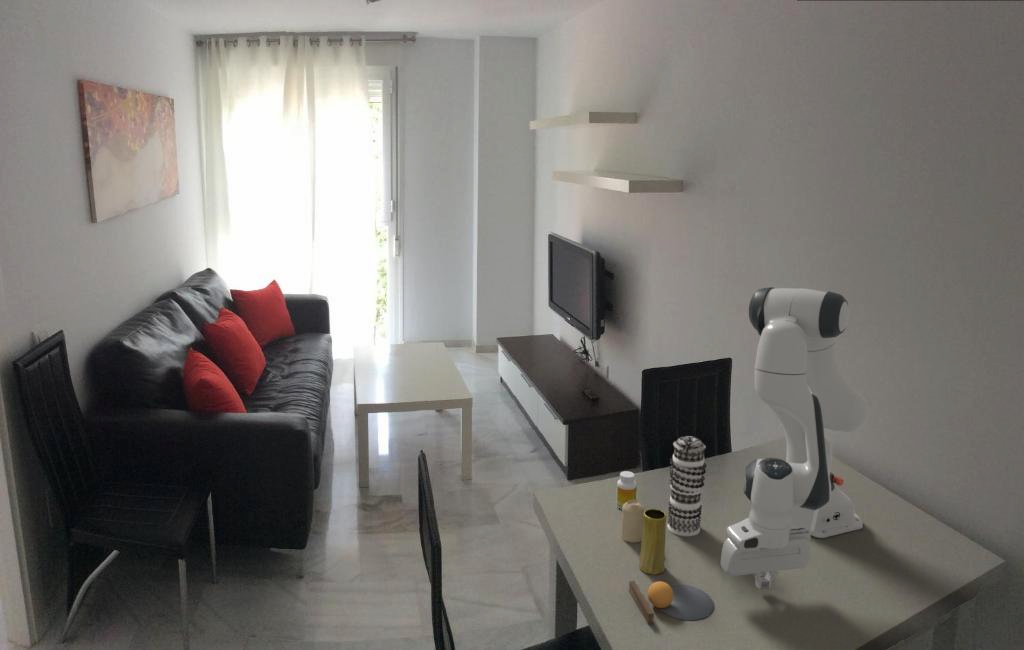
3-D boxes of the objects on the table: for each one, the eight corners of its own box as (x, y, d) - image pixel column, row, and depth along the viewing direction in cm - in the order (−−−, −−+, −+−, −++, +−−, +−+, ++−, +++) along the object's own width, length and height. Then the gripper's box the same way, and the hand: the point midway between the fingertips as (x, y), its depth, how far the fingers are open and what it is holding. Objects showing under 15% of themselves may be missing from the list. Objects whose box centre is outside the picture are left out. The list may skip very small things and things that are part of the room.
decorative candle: (674, 538, 192) (680, 448, 186) (660, 521, 201) (665, 434, 194) (707, 535, 194) (714, 445, 187) (691, 517, 202) (698, 431, 196)
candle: (642, 544, 189) (644, 508, 187) (620, 541, 190) (622, 506, 188) (643, 533, 195) (645, 498, 192) (621, 530, 196) (623, 495, 193)
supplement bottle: (636, 511, 206) (638, 478, 203) (617, 510, 206) (618, 478, 203) (634, 501, 211) (635, 470, 209) (615, 501, 211) (616, 469, 209)
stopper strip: (633, 590, 170) (634, 580, 170) (653, 623, 159) (654, 613, 158) (628, 591, 170) (629, 581, 169) (648, 624, 159) (648, 614, 158)
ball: (651, 573, 166) (639, 593, 166) (661, 587, 160) (649, 609, 161) (671, 580, 167) (659, 601, 168) (681, 595, 162) (669, 616, 163)
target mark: (698, 581, 174) (698, 581, 174) (724, 616, 161) (724, 615, 161) (645, 587, 171) (645, 587, 171) (667, 623, 159) (667, 622, 159)
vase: (636, 561, 182) (639, 507, 178) (660, 560, 182) (664, 507, 179) (642, 575, 176) (645, 520, 172) (667, 574, 177) (671, 519, 173)
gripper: (803, 520, 171) (797, 573, 174) (719, 528, 167) (715, 583, 171) (819, 534, 165) (812, 589, 168) (733, 543, 161) (728, 599, 165)
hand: (762, 586), depth 169 cm, fingers closed
